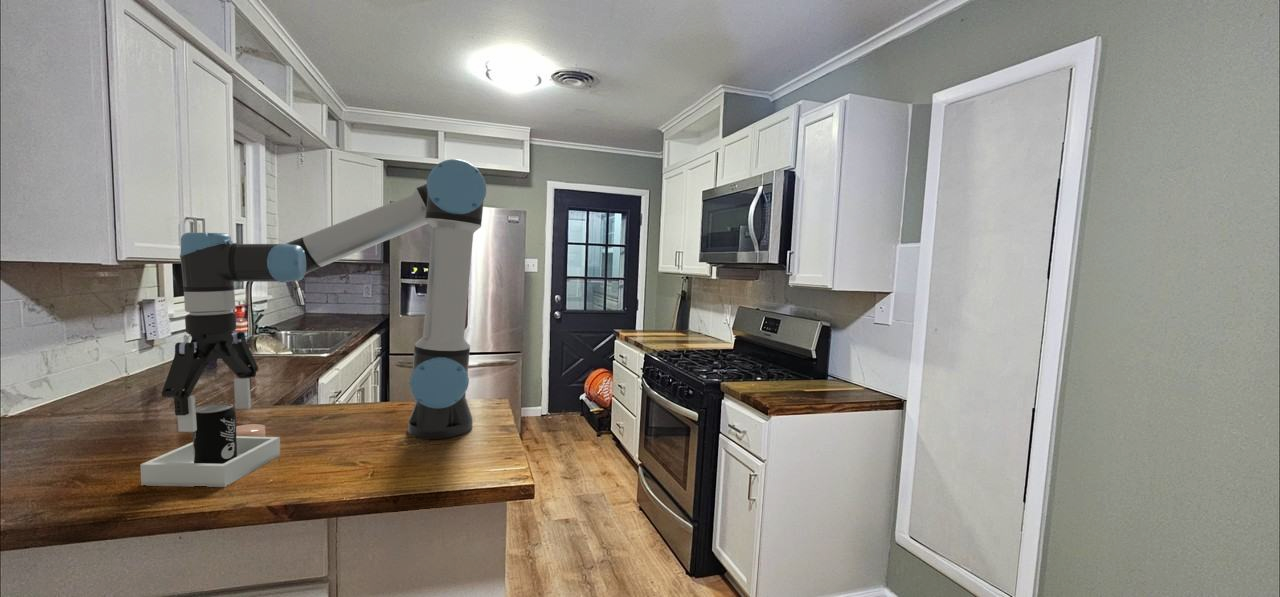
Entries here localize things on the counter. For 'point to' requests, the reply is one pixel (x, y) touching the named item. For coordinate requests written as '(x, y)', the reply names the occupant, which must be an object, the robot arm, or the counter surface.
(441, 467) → the counter surface
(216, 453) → the beverage can
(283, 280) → the robot arm
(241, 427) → the pink shiny round part
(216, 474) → the white square tray
